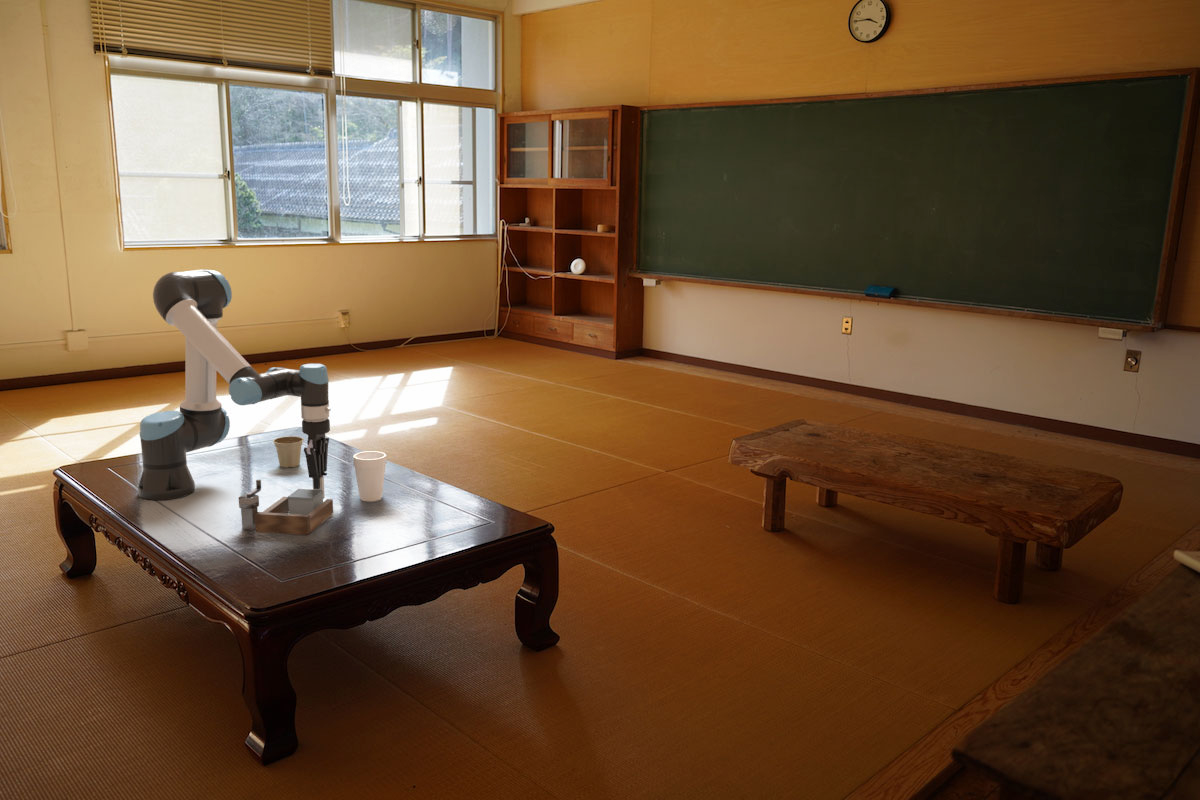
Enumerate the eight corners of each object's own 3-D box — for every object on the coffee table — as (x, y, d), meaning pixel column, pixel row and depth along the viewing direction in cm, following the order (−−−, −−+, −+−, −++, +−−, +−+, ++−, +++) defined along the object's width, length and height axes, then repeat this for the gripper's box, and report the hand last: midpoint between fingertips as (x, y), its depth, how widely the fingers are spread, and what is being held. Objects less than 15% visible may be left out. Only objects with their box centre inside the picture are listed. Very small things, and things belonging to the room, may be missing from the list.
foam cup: (393, 496, 273) (392, 453, 271) (374, 505, 265) (372, 461, 262) (368, 491, 277) (366, 449, 275) (347, 499, 269) (346, 457, 266)
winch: (236, 530, 243) (234, 489, 240) (252, 518, 252) (250, 479, 249) (255, 531, 242) (252, 490, 240) (270, 519, 251) (268, 480, 249)
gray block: (288, 517, 254) (287, 496, 252) (299, 508, 261) (298, 488, 259) (313, 518, 253) (313, 498, 252) (323, 510, 260) (323, 490, 259)
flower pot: (299, 469, 297) (298, 443, 295) (270, 469, 297) (268, 443, 295) (308, 461, 306) (307, 436, 304) (280, 461, 306) (279, 435, 304)
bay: (255, 532, 242) (254, 513, 241) (284, 510, 259) (283, 493, 258) (307, 535, 241) (307, 516, 239) (333, 512, 258) (332, 495, 257)
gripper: (319, 424, 254) (323, 506, 259) (337, 414, 266) (339, 492, 271) (293, 423, 254) (297, 504, 259) (311, 413, 267) (315, 490, 272)
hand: (319, 498), depth 265 cm, fingers closed
